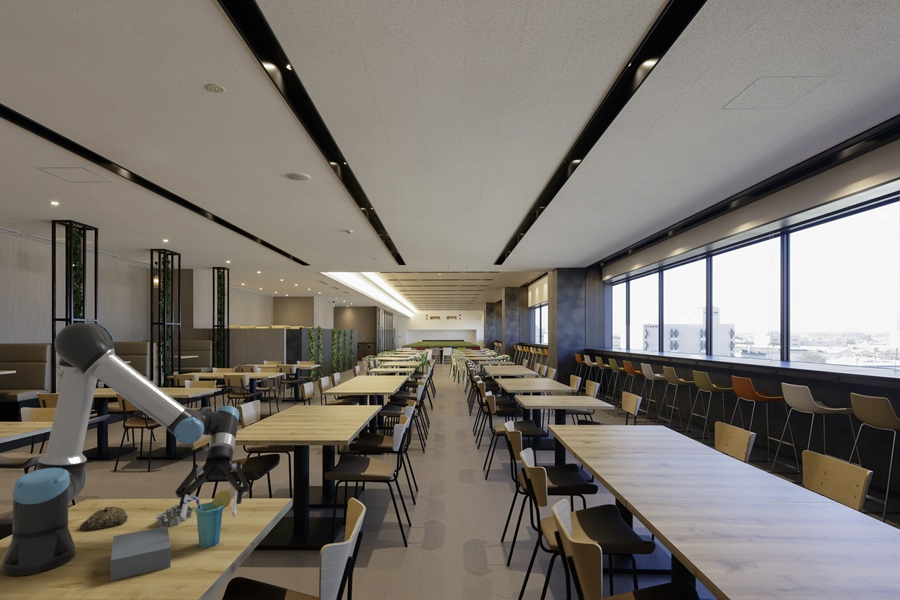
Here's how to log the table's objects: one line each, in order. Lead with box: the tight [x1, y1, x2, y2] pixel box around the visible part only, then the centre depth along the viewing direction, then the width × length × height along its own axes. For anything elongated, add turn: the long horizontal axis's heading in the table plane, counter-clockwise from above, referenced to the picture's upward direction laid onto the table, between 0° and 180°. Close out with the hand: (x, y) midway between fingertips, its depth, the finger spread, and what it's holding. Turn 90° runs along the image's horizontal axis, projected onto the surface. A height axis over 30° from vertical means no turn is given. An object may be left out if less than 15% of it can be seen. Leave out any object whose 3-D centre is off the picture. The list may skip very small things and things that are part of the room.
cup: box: [183, 490, 232, 549], centre depth 144 cm, size 14×8×15 cm, turn 149°
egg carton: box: [155, 504, 195, 528], centre depth 163 cm, size 11×8×4 cm
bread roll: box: [79, 506, 129, 531], centre depth 162 cm, size 13×12×5 cm
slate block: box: [110, 525, 172, 582], centre depth 134 cm, size 13×17×5 cm
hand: (208, 516), depth 144 cm, fingers open, 13 cm apart
